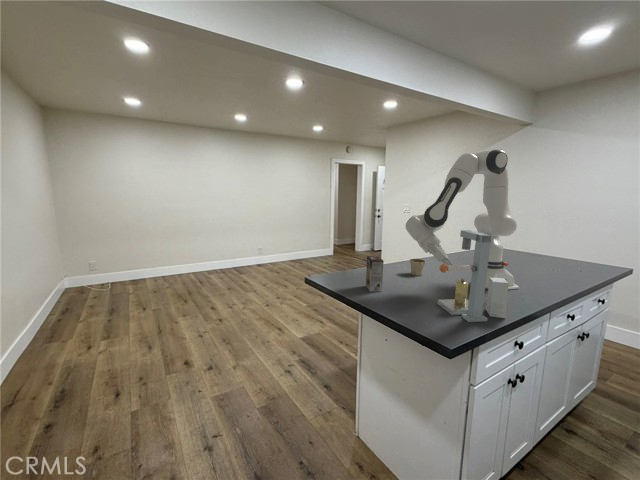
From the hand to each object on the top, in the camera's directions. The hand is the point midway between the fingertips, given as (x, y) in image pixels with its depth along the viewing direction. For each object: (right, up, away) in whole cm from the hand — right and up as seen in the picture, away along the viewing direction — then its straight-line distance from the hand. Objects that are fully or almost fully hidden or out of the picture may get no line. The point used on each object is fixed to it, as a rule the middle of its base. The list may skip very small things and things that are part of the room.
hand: (451, 267), depth 139 cm
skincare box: (+12, -18, -15) cm, 26 cm away
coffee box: (-34, -12, +14) cm, 39 cm away
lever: (-9, 0, -24) cm, 26 cm away
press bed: (-1, -17, -10) cm, 20 cm away
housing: (-1, -15, -11) cm, 19 cm away
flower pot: (-3, -8, +41) cm, 42 cm away
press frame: (0, -18, -15) cm, 24 cm away
